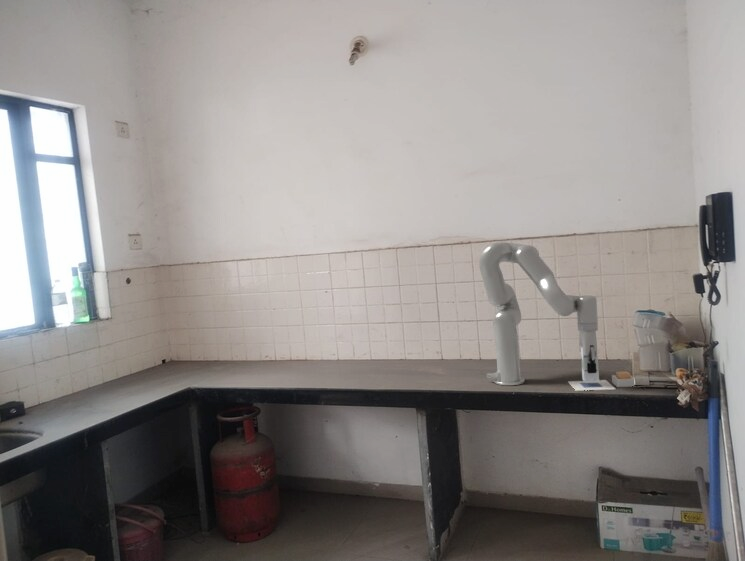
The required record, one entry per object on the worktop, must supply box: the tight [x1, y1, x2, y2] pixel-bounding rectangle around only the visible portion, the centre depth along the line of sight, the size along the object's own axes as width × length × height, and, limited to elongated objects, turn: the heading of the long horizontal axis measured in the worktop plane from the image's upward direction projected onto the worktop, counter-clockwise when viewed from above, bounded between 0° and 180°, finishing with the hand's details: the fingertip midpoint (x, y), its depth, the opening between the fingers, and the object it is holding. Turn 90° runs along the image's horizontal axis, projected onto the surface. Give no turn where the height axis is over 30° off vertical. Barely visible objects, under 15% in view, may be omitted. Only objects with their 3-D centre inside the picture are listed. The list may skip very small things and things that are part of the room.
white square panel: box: [567, 379, 617, 392], centre depth 224 cm, size 15×14×1 cm
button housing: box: [611, 374, 635, 388], centre depth 223 cm, size 7×7×3 cm
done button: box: [615, 370, 632, 379], centre depth 222 cm, size 4×4×2 cm
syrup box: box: [580, 347, 600, 383], centre depth 224 cm, size 6×6×14 cm
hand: (589, 370), depth 224 cm, fingers closed on syrup box, 5 cm apart
